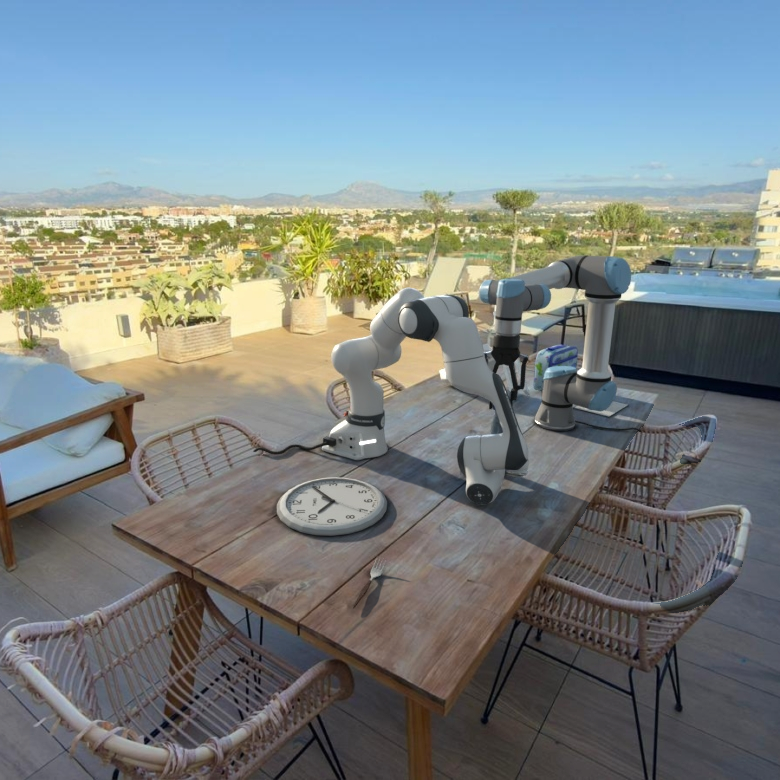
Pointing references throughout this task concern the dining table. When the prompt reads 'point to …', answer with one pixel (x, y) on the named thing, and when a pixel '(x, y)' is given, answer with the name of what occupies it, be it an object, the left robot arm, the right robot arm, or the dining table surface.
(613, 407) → the invitation card
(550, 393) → the right robot arm
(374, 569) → the fork
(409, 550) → the dining table surface
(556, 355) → the lunch box
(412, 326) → the left robot arm
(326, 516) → the wall clock
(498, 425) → the bottle
